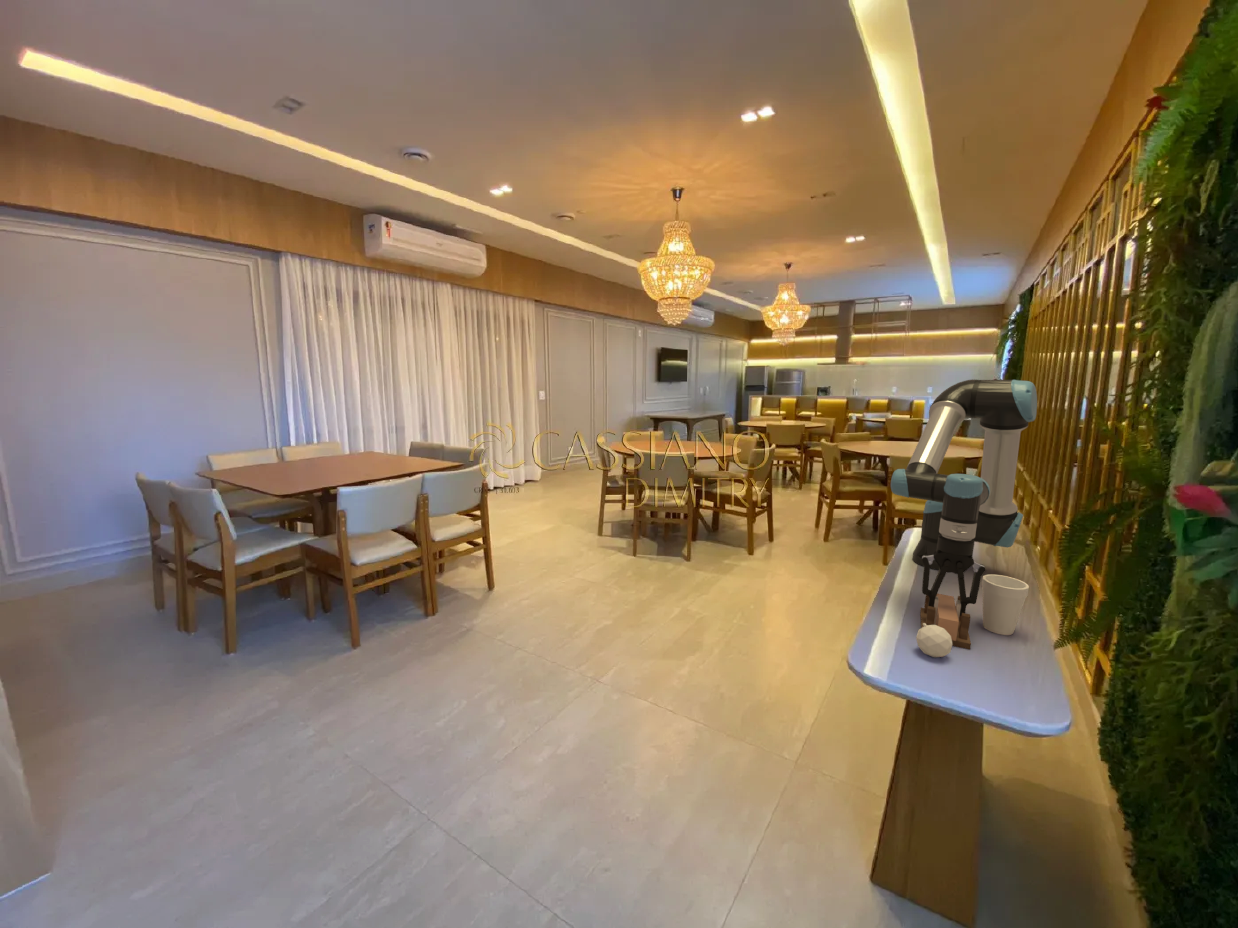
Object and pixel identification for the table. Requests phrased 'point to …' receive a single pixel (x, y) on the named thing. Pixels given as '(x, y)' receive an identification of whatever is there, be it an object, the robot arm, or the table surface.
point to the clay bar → (947, 615)
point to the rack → (963, 627)
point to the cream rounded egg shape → (934, 640)
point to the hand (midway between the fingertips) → (944, 623)
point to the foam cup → (1002, 602)
